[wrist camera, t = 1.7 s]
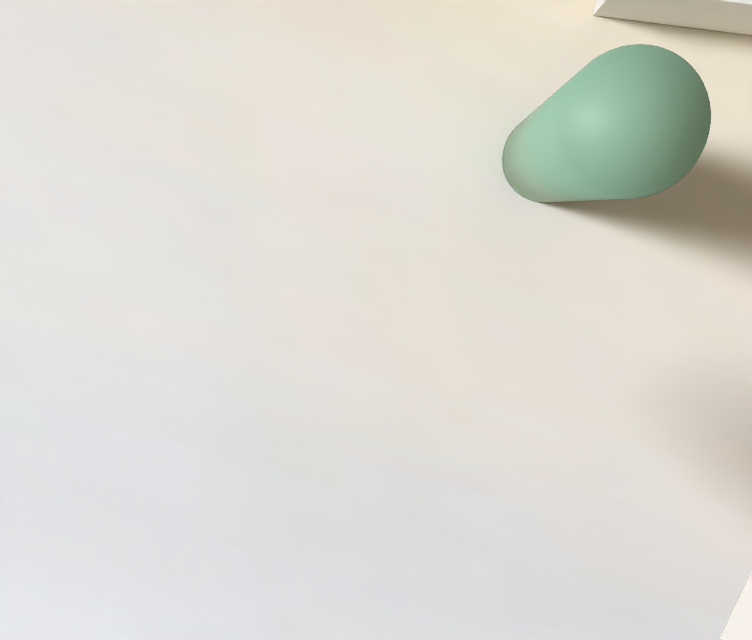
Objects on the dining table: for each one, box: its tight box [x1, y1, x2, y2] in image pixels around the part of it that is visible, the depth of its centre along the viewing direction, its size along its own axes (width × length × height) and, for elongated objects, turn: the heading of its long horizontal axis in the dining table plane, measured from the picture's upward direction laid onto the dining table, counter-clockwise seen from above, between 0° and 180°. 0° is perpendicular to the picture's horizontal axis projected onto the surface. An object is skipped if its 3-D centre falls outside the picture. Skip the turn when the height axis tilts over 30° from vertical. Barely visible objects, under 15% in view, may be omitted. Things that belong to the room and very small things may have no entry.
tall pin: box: [502, 44, 711, 202], centre depth 26 cm, size 4×4×14 cm
